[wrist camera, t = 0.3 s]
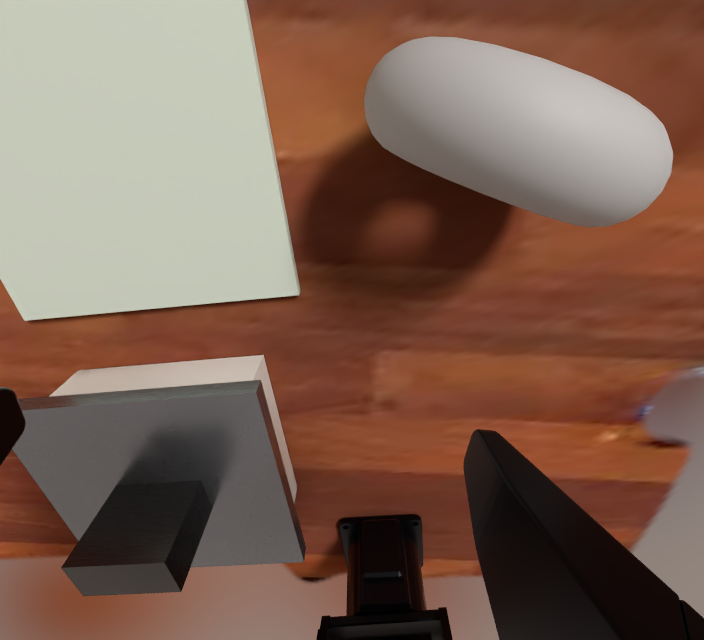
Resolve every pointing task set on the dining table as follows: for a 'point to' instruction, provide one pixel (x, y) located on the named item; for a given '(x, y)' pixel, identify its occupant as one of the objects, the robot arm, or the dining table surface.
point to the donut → (519, 129)
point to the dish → (183, 376)
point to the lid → (162, 482)
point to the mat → (136, 158)
